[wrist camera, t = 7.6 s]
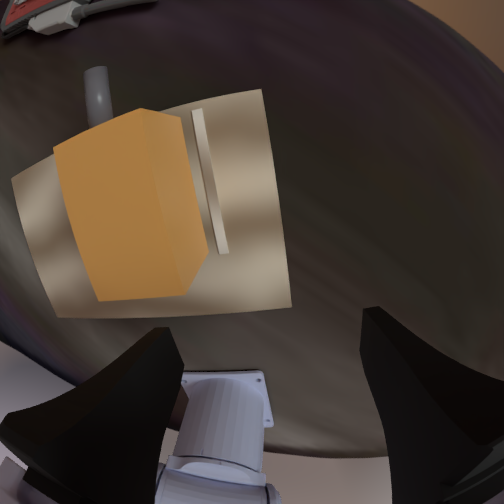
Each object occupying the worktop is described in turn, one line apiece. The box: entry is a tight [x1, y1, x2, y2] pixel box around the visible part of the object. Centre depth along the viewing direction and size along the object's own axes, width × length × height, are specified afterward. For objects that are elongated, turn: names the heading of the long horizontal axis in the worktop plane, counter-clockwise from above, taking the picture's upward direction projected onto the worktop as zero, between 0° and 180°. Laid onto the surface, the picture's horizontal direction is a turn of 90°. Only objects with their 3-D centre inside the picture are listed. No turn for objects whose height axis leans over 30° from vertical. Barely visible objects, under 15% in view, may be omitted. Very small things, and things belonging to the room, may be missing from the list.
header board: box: [11, 89, 292, 318], centre depth 16 cm, size 14×22×5 cm, turn 99°
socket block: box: [53, 66, 209, 301], centre depth 12 cm, size 11×5×5 cm, turn 10°
